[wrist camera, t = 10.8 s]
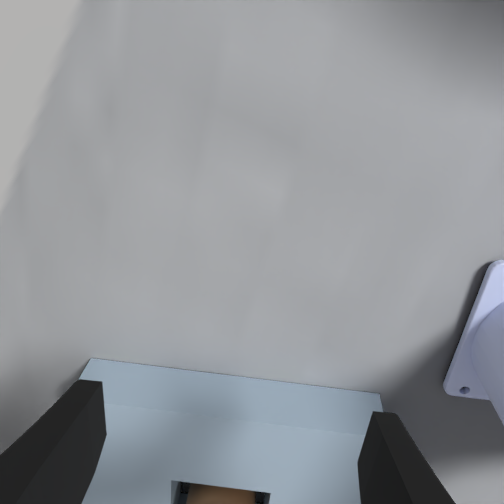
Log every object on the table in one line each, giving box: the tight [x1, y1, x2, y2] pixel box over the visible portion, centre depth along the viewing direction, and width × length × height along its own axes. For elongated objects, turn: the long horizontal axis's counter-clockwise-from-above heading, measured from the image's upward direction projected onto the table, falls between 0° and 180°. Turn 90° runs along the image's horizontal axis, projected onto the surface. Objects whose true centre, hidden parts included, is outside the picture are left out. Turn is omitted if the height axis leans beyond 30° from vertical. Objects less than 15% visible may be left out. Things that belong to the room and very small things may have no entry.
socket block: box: [79, 358, 383, 504], centre depth 28 cm, size 16×16×3 cm
